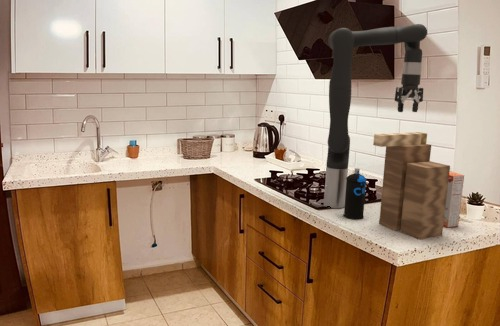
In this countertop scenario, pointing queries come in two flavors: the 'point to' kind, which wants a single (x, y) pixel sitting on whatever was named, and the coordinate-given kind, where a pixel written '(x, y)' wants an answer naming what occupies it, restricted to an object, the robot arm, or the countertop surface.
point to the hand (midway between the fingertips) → (407, 112)
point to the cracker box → (453, 200)
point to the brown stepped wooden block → (413, 191)
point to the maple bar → (400, 139)
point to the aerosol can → (355, 195)
